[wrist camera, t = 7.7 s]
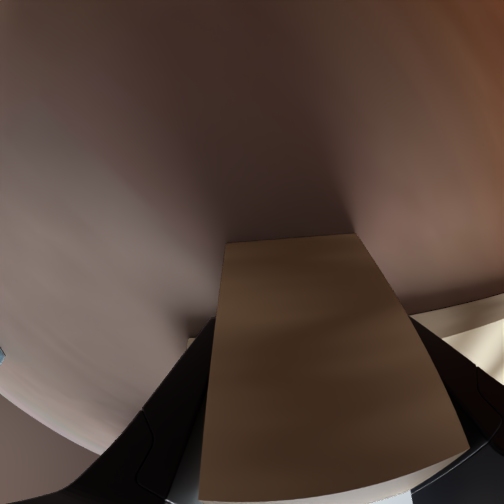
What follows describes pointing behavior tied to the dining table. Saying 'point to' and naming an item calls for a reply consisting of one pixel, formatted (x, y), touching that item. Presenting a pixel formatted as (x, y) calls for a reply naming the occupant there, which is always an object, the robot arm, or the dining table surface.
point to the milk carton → (1, 356)
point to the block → (318, 381)
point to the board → (470, 331)
